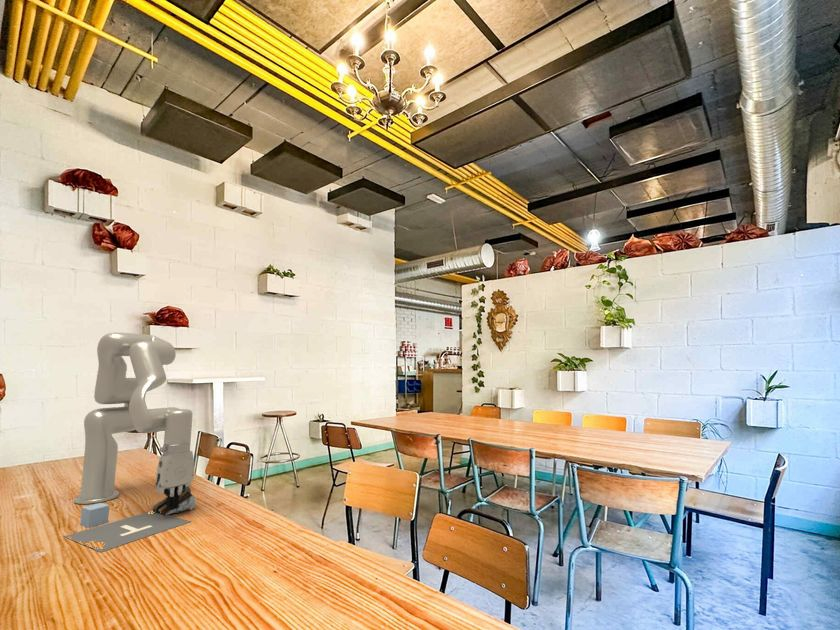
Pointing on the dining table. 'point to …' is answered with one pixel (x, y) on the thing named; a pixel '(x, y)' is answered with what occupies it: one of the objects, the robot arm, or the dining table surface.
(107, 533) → the letter mat
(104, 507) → the cube
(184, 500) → the chocolate cake
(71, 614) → the dining table surface
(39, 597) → the dining table surface
